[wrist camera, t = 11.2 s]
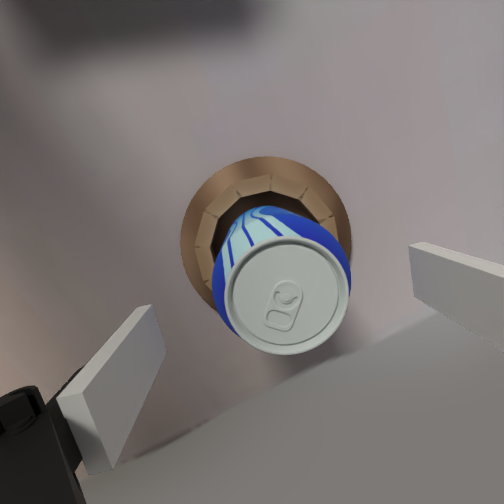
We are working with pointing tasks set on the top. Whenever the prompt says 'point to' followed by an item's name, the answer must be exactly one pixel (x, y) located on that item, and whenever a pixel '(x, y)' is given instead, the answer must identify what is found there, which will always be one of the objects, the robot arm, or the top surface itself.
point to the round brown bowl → (248, 197)
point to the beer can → (281, 281)
